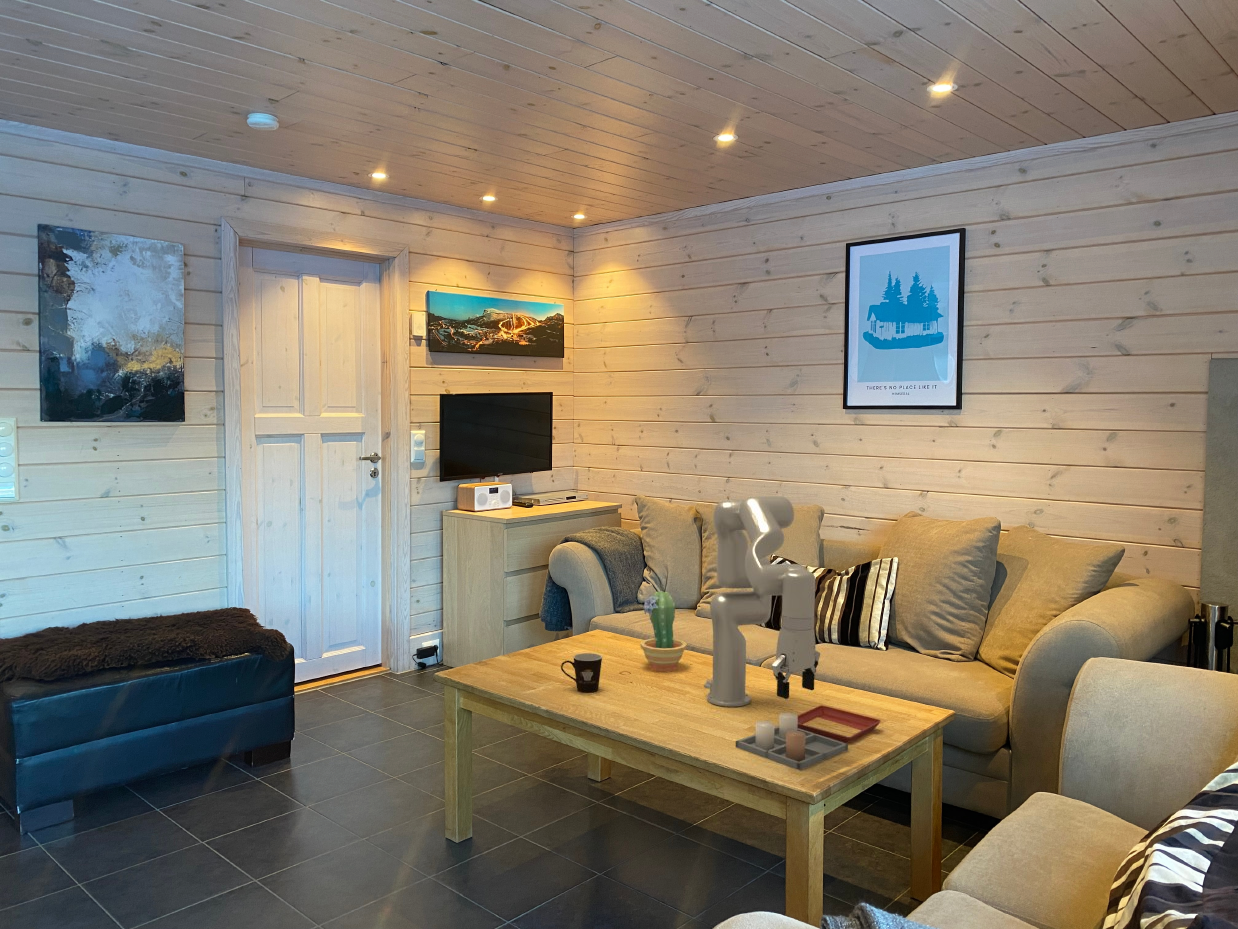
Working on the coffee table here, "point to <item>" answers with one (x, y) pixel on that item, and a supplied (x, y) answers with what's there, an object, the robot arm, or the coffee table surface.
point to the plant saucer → (838, 717)
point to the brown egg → (795, 745)
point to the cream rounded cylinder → (787, 724)
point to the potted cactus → (662, 634)
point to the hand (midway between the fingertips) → (795, 693)
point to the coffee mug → (586, 671)
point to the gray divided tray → (814, 749)
